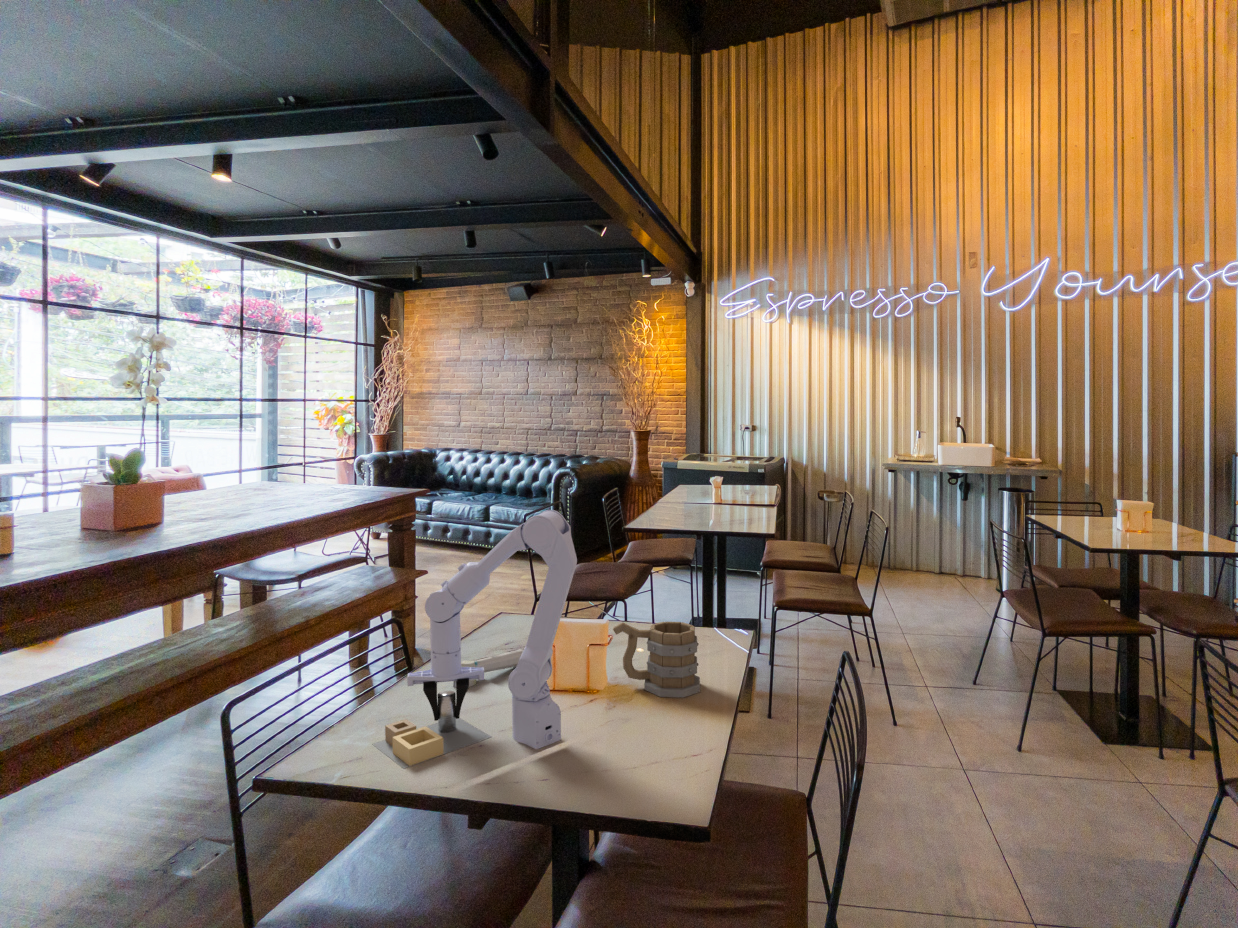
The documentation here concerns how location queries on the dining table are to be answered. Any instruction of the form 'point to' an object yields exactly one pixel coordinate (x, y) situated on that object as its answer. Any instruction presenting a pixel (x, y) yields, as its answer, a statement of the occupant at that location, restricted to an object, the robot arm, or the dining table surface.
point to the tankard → (665, 658)
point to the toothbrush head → (494, 663)
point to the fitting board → (425, 741)
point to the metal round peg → (446, 711)
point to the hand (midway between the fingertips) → (447, 717)
